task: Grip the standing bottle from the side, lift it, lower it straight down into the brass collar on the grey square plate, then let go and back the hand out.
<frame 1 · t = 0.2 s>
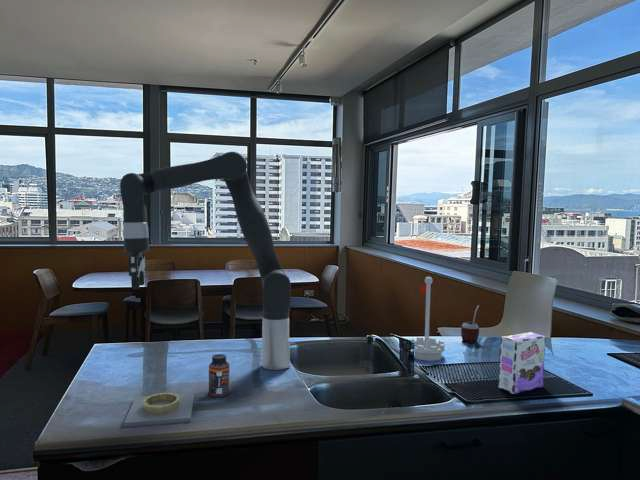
hand: (138, 287, 150), 29 cm above the worktop, tool pointing down, fingers open, 8 cm apart
supplement bottle: (218, 394, 137), on the worktop
mate gourd: (470, 342, 194), on the worktop
flag stand: (426, 356, 175), on the worktop
brass collar: (161, 403, 125), on the grey square plate, point 1 cm above the worktop
grey square plate: (161, 410, 125), on the worktop
candy box: (520, 388, 145), on the worktop
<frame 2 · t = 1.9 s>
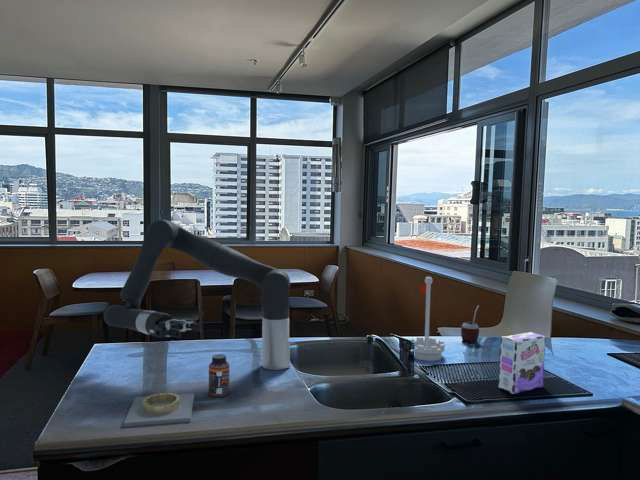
hand: (190, 331, 141), 17 cm above the worktop, tool horizontal, fingers open, 8 cm apart
nothing on the worktop moved.
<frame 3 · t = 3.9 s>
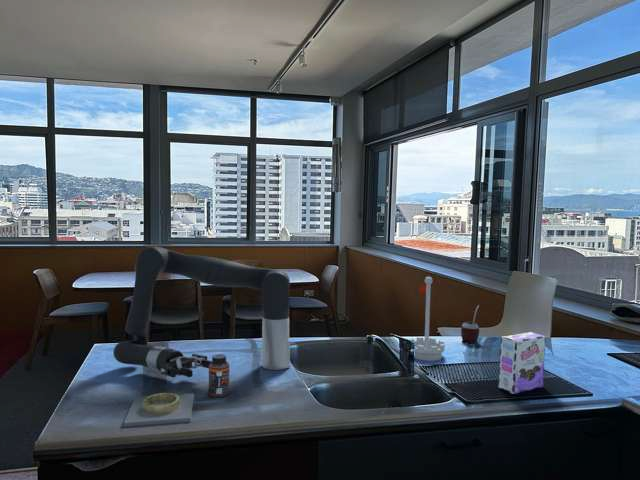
hand: (202, 369, 140), 6 cm above the worktop, tool horizontal, fingers open, 8 cm apart
nothing on the worktop moved.
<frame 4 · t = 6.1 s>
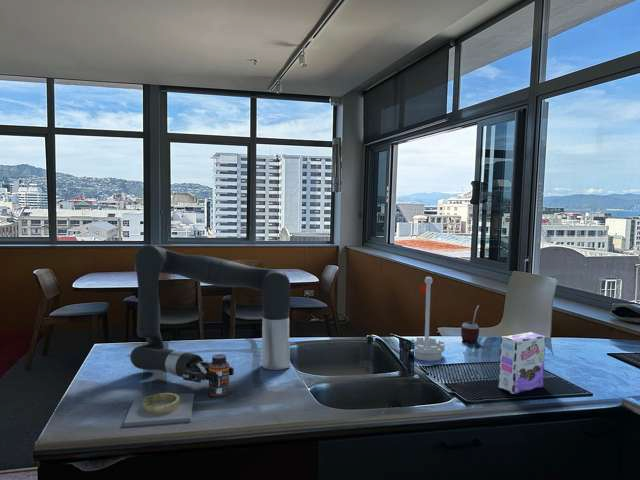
hand: (225, 375, 135), 6 cm above the worktop, tool horizontal, fingers closed on supplement bottle, 6 cm apart
supplement bottle: (218, 394, 137), on the worktop, touching gripper
everything else where it was.
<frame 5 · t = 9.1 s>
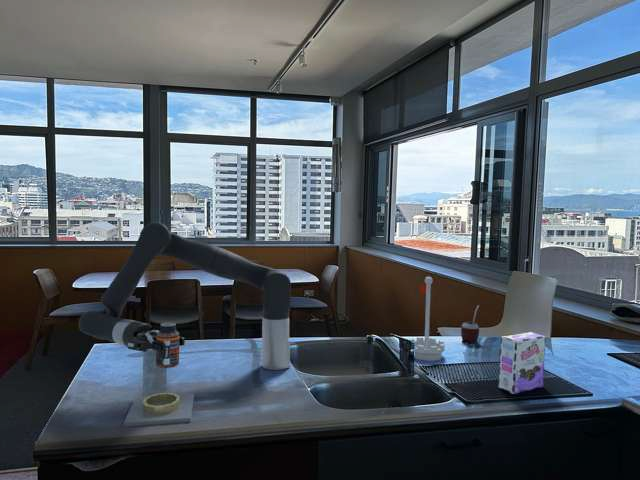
hand: (174, 344, 124), 18 cm above the worktop, tool horizontal, fingers closed on supplement bottle, 6 cm apart
supplement bottle: (167, 365, 126), point 12 cm above the worktop, touching gripper
everything else where it was.
when the fingers open (8 cm above the worktop, at t = 12.2 s): supplement bottle drops 1 cm, resting on grey square plate.
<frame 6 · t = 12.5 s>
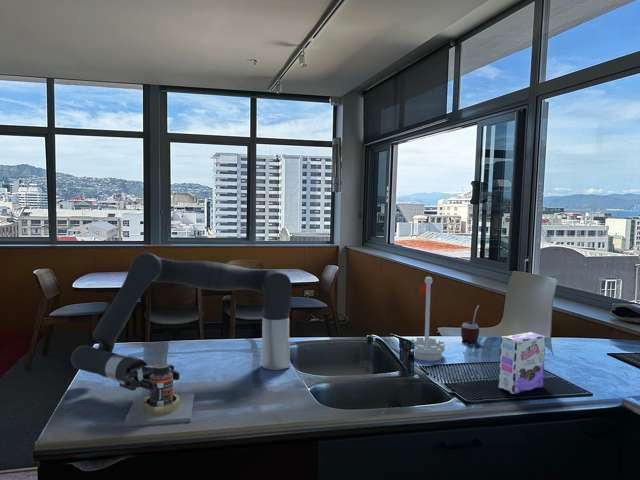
hand: (166, 381, 123), 8 cm above the worktop, tool horizontal, fingers open, 8 cm apart
supplement bottle: (161, 407, 125), point 1 cm above the worktop, touching grey square plate
everything else where it was.
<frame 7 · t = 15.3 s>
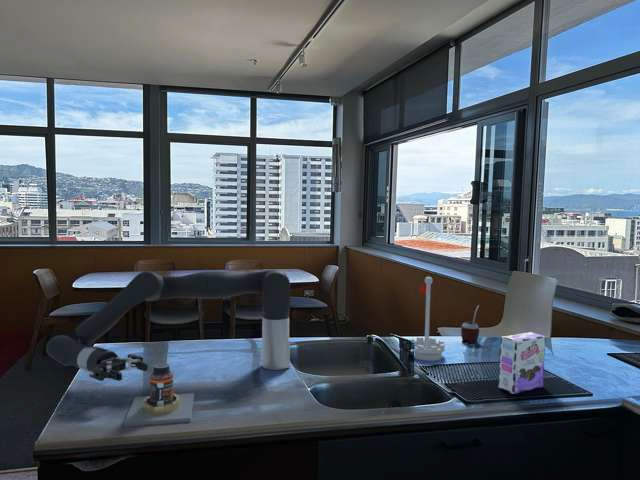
hand: (134, 372, 130), 8 cm above the worktop, tool horizontal, fingers open, 8 cm apart
nothing on the worktop moved.
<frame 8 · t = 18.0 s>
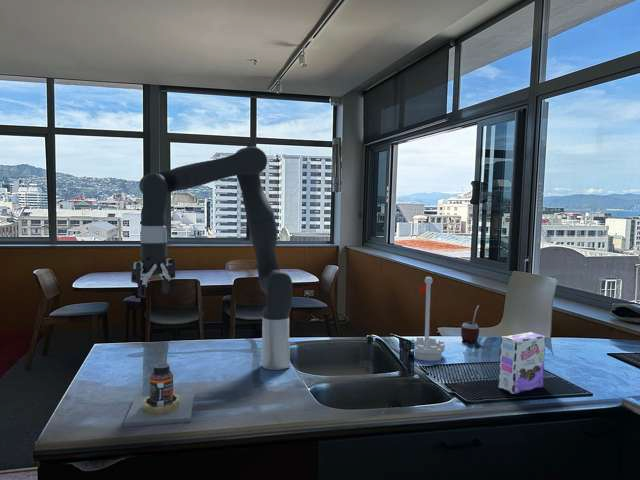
hand: (154, 294, 140), 28 cm above the worktop, tool pointing down, fingers open, 8 cm apart
nothing on the worktop moved.
at the end: supplement bottle 0.2 cm off-centre on the brass collar, point 0.8 cm above the brass collar's base; supplement bottle tilted 0°; the gripper is holding nothing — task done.
